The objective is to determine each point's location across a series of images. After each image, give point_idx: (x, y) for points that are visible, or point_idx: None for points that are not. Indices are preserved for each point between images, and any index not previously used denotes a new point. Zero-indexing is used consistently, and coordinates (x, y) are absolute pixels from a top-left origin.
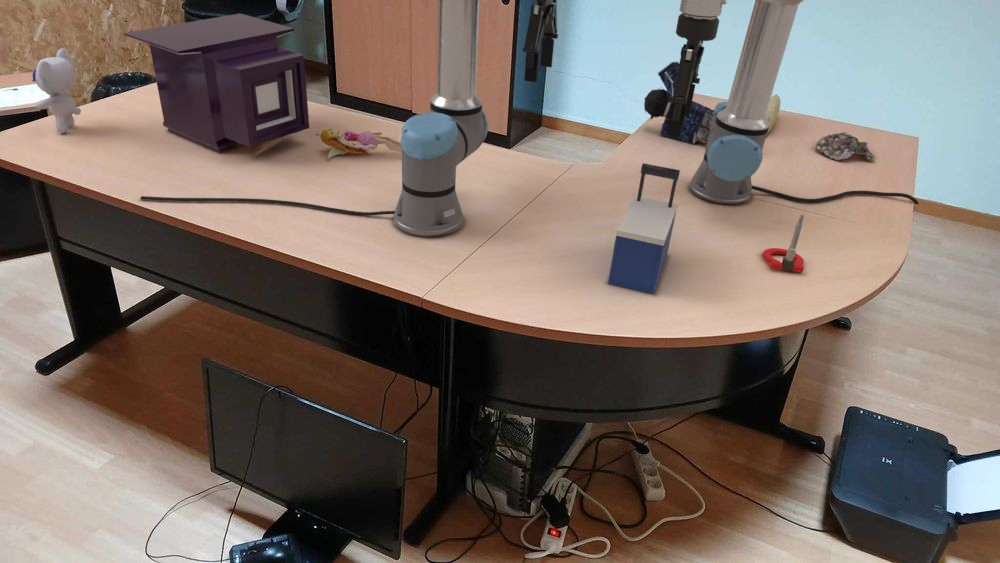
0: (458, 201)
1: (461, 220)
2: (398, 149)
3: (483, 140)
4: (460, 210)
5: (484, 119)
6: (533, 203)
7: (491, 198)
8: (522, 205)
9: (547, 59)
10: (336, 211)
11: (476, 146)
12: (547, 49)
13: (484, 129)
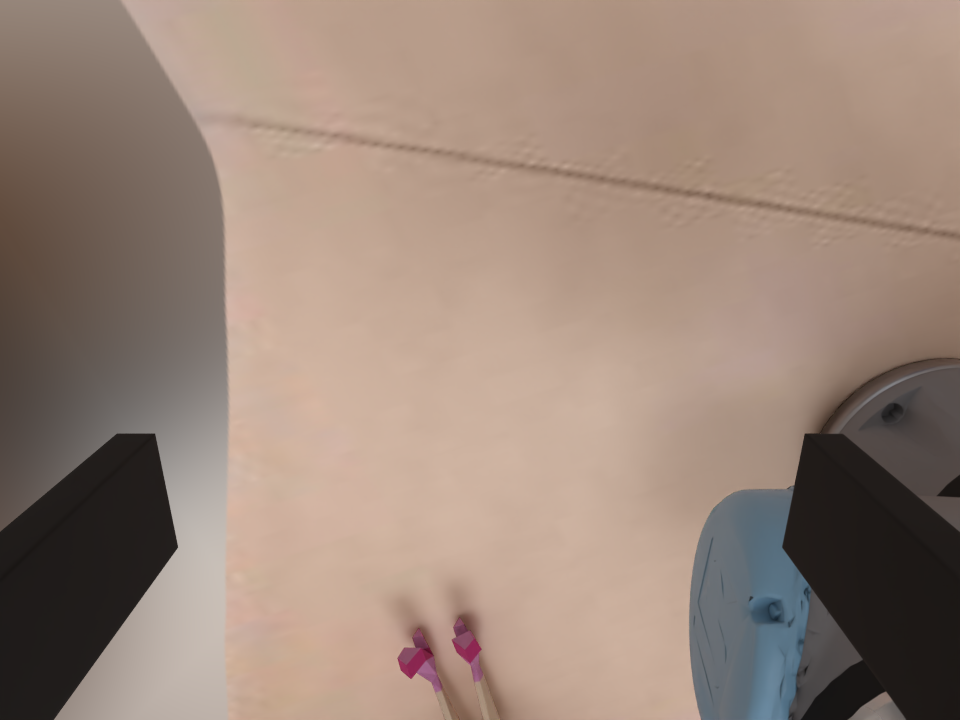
0: (957, 410)
1: (947, 366)
2: (493, 714)
3: (768, 491)
4: (953, 387)
5: None
6: (671, 175)
7: (681, 336)
8: (703, 211)
9: (115, 531)
10: None
11: None
12: (29, 644)
13: None
